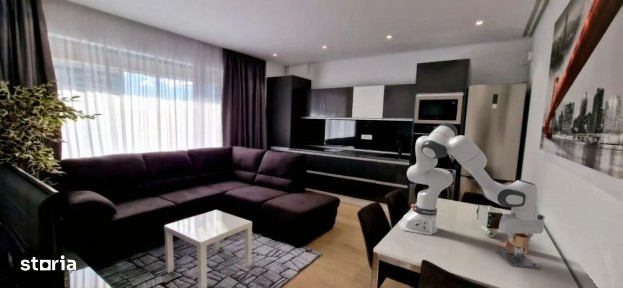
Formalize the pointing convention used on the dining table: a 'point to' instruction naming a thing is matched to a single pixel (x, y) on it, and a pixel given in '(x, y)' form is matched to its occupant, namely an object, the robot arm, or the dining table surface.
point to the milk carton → (511, 246)
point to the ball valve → (489, 219)
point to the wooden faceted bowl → (520, 240)
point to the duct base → (517, 262)
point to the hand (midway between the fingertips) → (519, 241)
